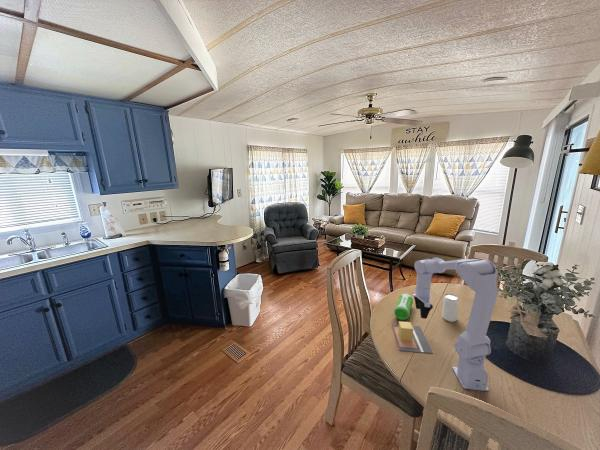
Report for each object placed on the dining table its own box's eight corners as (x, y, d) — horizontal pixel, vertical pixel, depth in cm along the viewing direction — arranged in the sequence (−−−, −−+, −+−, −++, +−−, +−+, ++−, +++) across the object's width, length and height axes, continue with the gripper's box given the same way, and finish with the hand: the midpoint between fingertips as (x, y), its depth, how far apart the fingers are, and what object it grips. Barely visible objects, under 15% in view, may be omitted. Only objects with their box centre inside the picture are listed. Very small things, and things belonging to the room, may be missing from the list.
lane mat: (432, 353, 102) (432, 352, 102) (399, 350, 104) (399, 349, 104) (419, 326, 119) (419, 326, 119) (391, 324, 121) (391, 324, 121)
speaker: (408, 323, 122) (409, 309, 121) (393, 319, 126) (393, 306, 125) (413, 306, 137) (413, 294, 136) (399, 303, 141) (399, 291, 139)
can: (459, 322, 121) (461, 300, 118) (444, 321, 122) (446, 299, 120) (453, 315, 127) (456, 294, 125) (440, 314, 129) (442, 293, 126)
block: (412, 340, 109) (413, 329, 108) (400, 340, 110) (401, 328, 109) (409, 333, 114) (410, 322, 113) (398, 332, 115) (398, 321, 113)
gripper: (409, 278, 117) (407, 304, 120) (418, 293, 103) (416, 321, 106) (425, 279, 116) (423, 305, 119) (436, 293, 102) (434, 323, 105)
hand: (421, 313), depth 112 cm, fingers open, 7 cm apart
